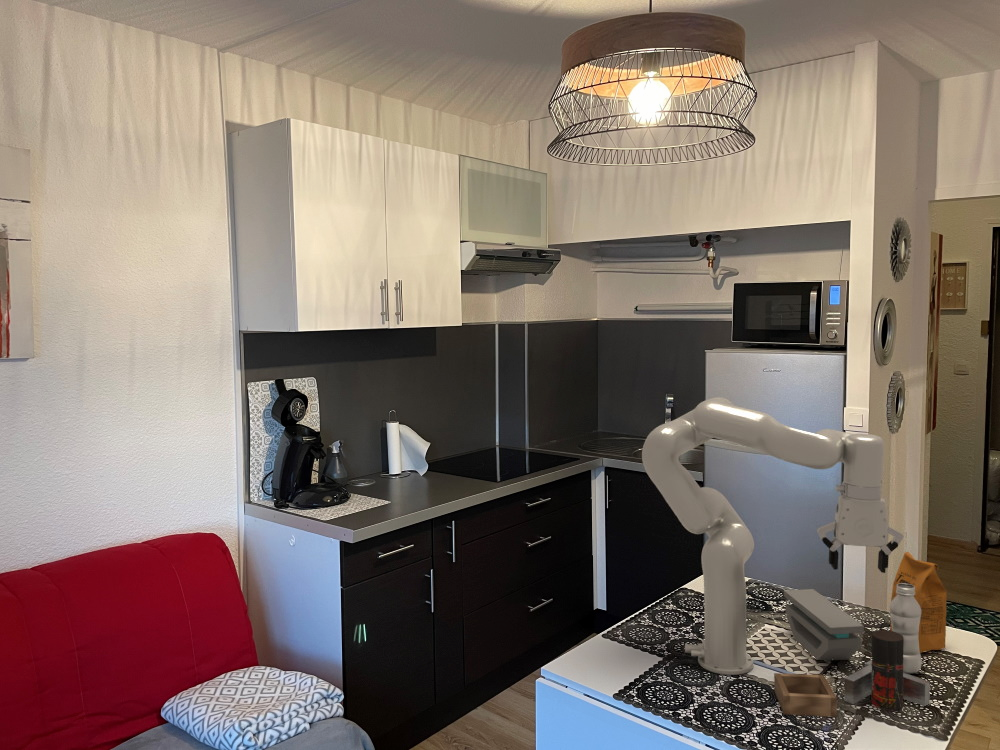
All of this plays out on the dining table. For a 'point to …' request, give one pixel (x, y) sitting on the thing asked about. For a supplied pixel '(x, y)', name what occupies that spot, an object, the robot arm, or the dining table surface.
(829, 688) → the block
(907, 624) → the plastic bottle
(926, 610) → the coffee package
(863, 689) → the v block
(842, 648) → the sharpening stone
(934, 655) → the dining table surface
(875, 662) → the deodorant
